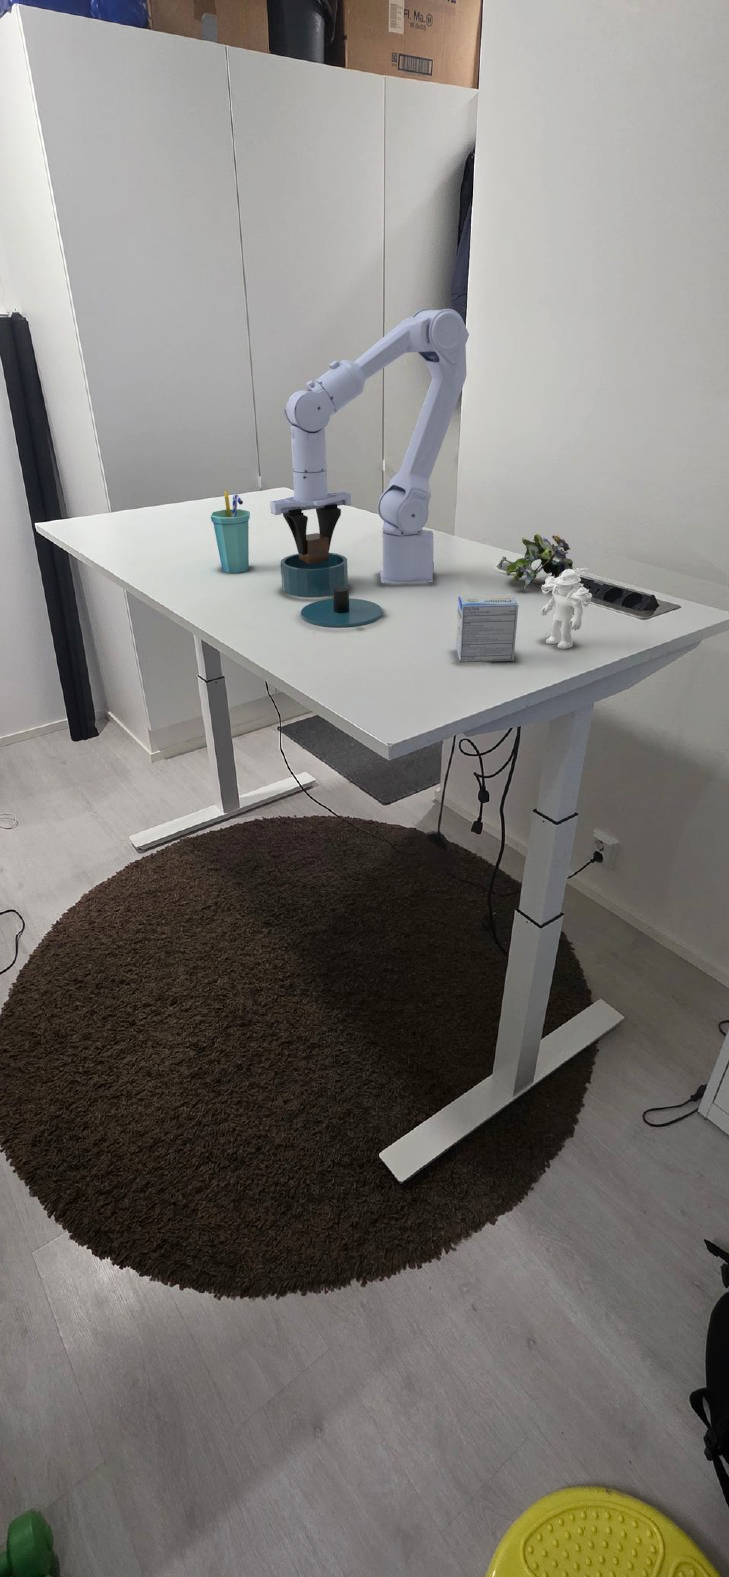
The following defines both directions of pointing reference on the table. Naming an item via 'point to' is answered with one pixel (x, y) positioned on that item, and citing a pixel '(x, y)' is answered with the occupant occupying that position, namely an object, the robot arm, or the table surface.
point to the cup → (232, 536)
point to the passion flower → (549, 556)
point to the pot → (313, 576)
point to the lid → (341, 611)
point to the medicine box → (486, 627)
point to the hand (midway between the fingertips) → (313, 551)
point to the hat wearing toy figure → (565, 605)
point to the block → (316, 548)
